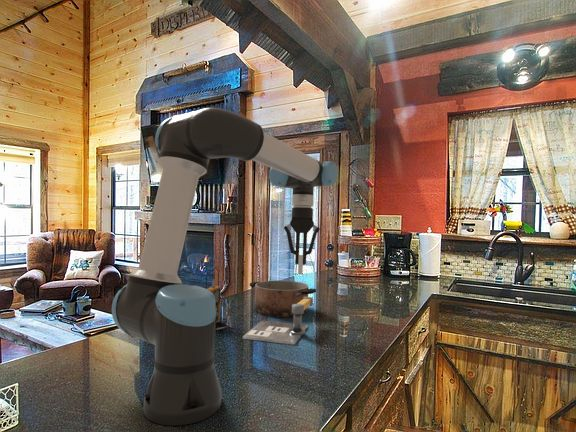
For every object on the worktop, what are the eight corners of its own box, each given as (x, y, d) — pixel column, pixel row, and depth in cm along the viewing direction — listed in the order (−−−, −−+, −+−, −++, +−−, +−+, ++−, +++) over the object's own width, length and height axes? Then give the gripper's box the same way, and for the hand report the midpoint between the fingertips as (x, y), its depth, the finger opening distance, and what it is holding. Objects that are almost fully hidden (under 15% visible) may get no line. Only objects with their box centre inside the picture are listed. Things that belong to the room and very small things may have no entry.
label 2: (285, 333, 118) (285, 332, 118) (264, 331, 120) (264, 329, 120) (288, 329, 123) (288, 327, 123) (269, 327, 124) (269, 325, 124)
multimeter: (227, 332, 120) (229, 272, 120) (199, 329, 122) (201, 270, 122) (241, 320, 134) (243, 266, 135) (216, 318, 136) (218, 265, 137)
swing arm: (301, 315, 117) (302, 306, 117) (290, 314, 118) (290, 305, 118) (313, 305, 132) (314, 297, 132) (303, 303, 133) (303, 296, 133)
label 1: (267, 338, 113) (267, 336, 113) (246, 335, 115) (247, 334, 115) (272, 333, 118) (272, 331, 118) (252, 331, 120) (252, 329, 120)
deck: (298, 345, 110) (299, 322, 110) (242, 338, 114) (243, 316, 114) (310, 327, 128) (310, 307, 128) (261, 322, 132) (262, 303, 132)
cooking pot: (236, 310, 149) (237, 284, 149) (265, 300, 168) (265, 277, 169) (301, 322, 135) (302, 293, 135) (324, 310, 154) (325, 285, 154)
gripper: (283, 206, 124) (280, 274, 124) (321, 207, 123) (318, 276, 123) (285, 207, 132) (282, 271, 132) (320, 208, 131) (318, 273, 131)
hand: (300, 273), depth 127 cm, fingers closed
